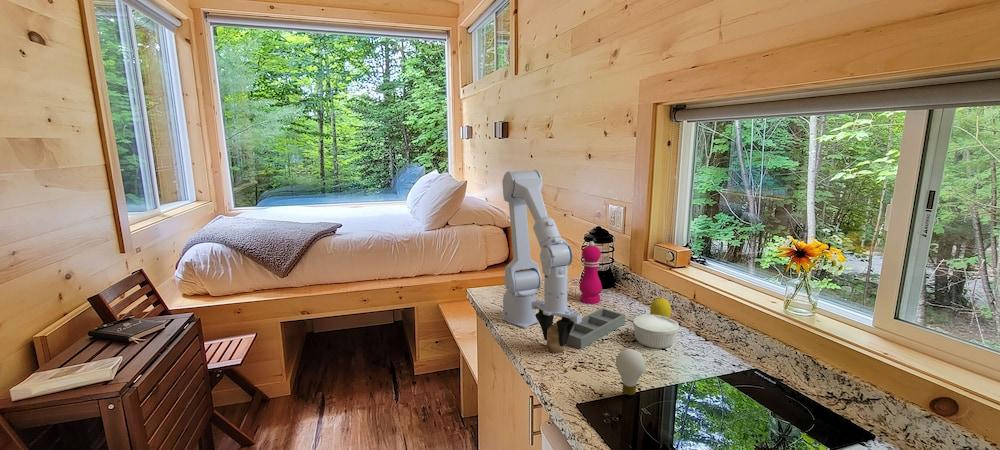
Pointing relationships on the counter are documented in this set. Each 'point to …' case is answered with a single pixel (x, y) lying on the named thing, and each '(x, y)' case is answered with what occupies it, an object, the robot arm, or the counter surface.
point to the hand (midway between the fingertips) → (555, 341)
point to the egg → (553, 340)
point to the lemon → (660, 307)
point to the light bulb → (630, 369)
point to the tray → (595, 327)
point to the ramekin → (655, 330)
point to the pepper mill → (590, 275)
